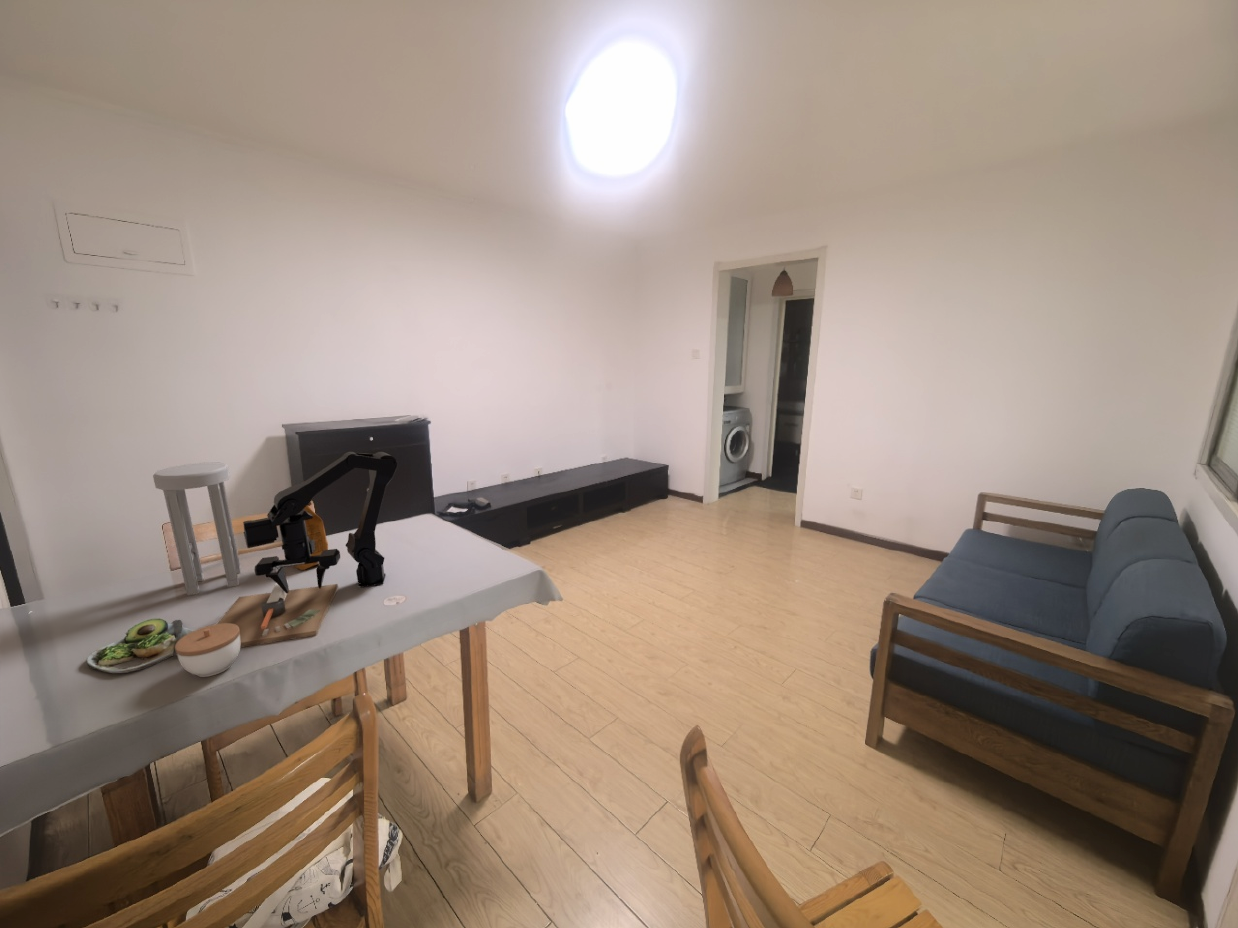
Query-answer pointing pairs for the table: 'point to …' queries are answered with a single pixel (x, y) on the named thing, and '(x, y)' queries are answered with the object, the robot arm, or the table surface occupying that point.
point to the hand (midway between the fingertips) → (304, 590)
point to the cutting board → (295, 622)
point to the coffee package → (315, 535)
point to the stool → (179, 514)
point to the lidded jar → (209, 649)
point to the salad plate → (140, 646)
